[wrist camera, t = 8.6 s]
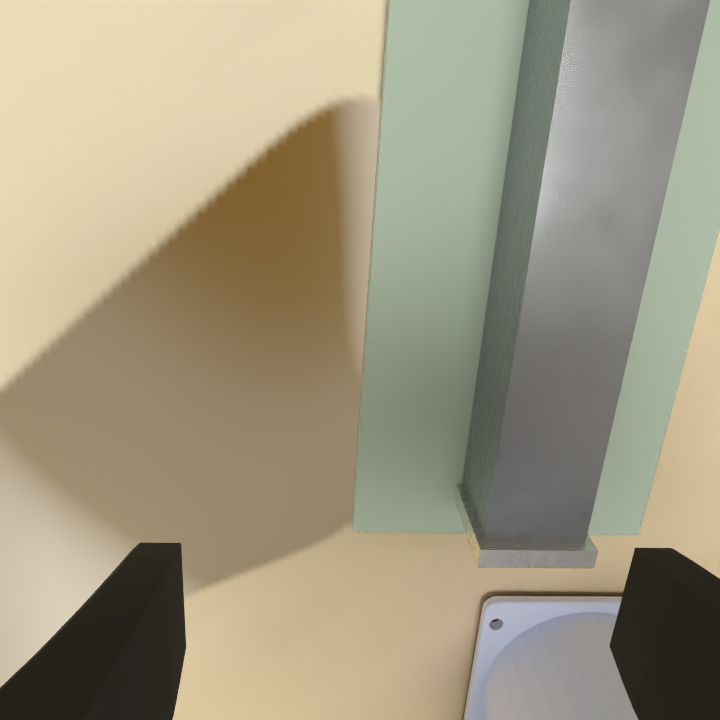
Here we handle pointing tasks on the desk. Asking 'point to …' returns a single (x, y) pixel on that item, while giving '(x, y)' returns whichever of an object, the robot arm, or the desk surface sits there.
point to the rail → (571, 267)
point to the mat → (474, 264)
